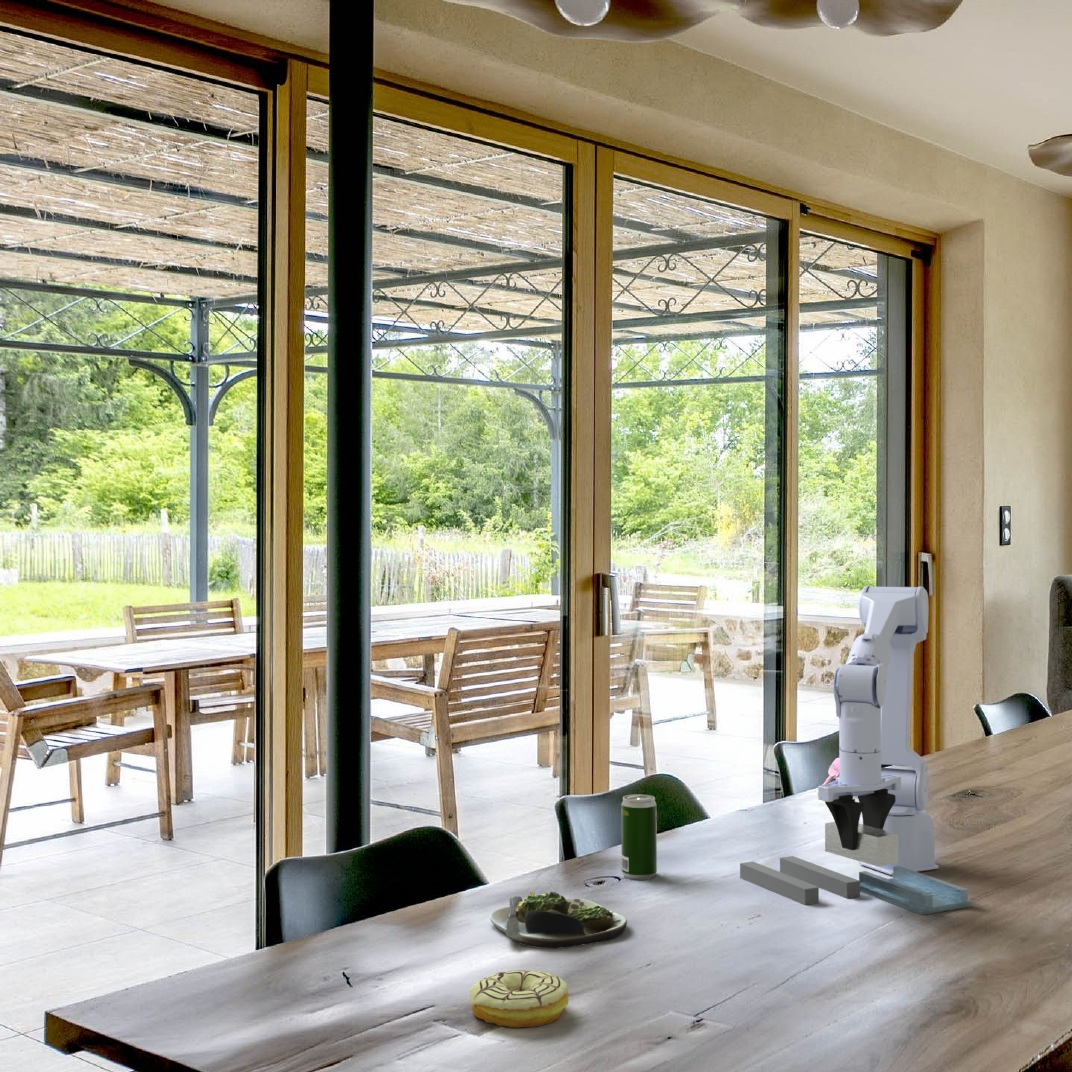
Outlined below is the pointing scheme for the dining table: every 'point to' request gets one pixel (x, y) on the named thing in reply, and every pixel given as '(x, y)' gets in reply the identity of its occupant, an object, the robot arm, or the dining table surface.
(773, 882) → the grey bars
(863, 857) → the rectangular block
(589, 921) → the salad plate
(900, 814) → the robot arm
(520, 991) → the decorated donut
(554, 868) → the dining table surface
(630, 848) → the beer can
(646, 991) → the dining table surface
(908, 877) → the cradle
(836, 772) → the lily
